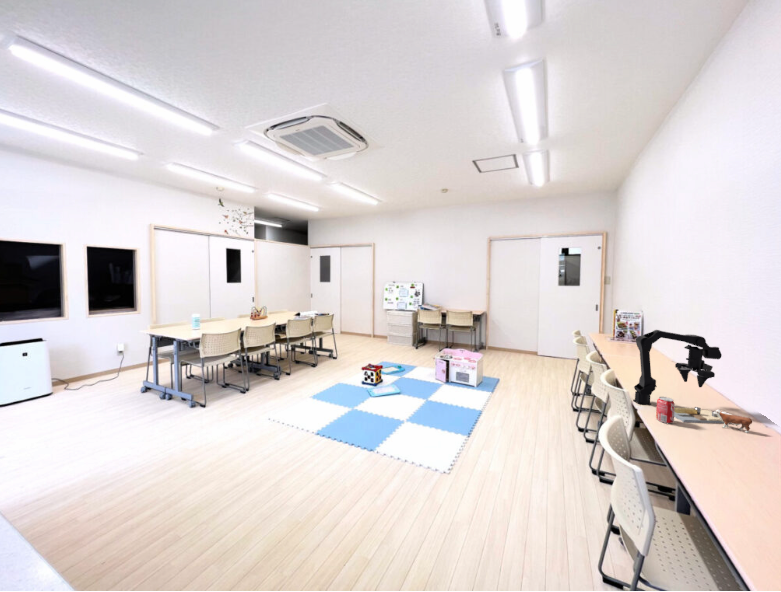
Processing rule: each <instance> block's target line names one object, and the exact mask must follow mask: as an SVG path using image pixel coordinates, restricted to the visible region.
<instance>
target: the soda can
mask: <svg viewBox="0 0 781 592" xmlns="http://www.w3.org/2000/svg"><path fill="white" fill-rule="evenodd" d="M675 405H676V403H675V402H674V399H672V397H671V398H670V397H667V396H659V397H658V399H657V401H656V409H655V410H656V411H655V412H656V413H655V418H656V420H658V421H659V422H660V423H663V424H667V423H668V424H672V423H674V420H675V417H674V411H675V408H676V407H675Z"/></svg>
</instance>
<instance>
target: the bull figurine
mask: <svg viewBox="0 0 781 592" xmlns="http://www.w3.org/2000/svg"><path fill="white" fill-rule="evenodd" d="M714 411H715V412H713V414H716V415H717V416H718V417H719V418H720V420H721V421H722V422H724V423H723V426H721V428H722V429H725V428H729V426H730V425H729V424H728V423H731V424H732V425H735V426H736V427H738V426H739V425H741V426H740V427H738V428H737V430H738V431H743V429H745V430H744V433H745V434H749V433H750V429H751V428H750V425H752V424H753V419H751V418H750V417H745V416H740V415H734V414H732V413H728V412H726V411H723V410H720V409H716V410H714Z"/></svg>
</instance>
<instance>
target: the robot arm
mask: <svg viewBox="0 0 781 592" xmlns="http://www.w3.org/2000/svg"><path fill="white" fill-rule="evenodd" d="M661 338H662V339H667V340H674V341H678V342H684V343H686V344H688V345H686V346H684V347H683V348H684V349H686V350H688V356H687V357H685V360H686V361H687V363H685V362H676V363H675V365H674V367H675V368H676V370H677V371H678V372H679V374H680V376H681V377H682V380H683V382H684V383H687V382H688V378H689V373H690V372H691V371H692V372H695V373H697V375H696V378H697V379H696V380H697V385H698V388H702V387H703V385H705V383H706V381H707V380H708V379H712V378H715V375H716V373H715V372H714V371H712V369H713V367H714V366H713V365H710V364H707V363H705V360H704V359H708V360H709V359H710V360H711V359H712V360H720V359H721V358H722V357H723V356H722V353H721V350H720V347H719V346H710V345H709V344H708V343H707V341H706V338H705V337H704V336H701V335H697V334H680V333H675V332H668V331H663V330H660V329H654V330H652V331H651V332H647V333H645V334H643V335H639V336H637V337H636V338H635V344H636V346H637V349H638V350H639V358H640V359H639V360H640V372H641V374H640V377H639V379H638V380H639V381H638V383H637V384H635V385H634V386H633V387H634V391H635V393H634V399H632V401H633V402H635V403H636V404H639V405H640V406H641V405H647V406H648V405H649V406H651V405H652V403H651V395H652V393H653V392H654V391H656V388H657V379H655V378H653V377H652V369H651V355H650V354H651V353H650V352H651V350H652V347H653V344H654V343H656V342H657V341H658V340H660V339H661ZM703 358H704V359H703Z"/></svg>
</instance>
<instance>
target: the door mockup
mask: <svg viewBox="0 0 781 592" xmlns="http://www.w3.org/2000/svg"><path fill="white" fill-rule="evenodd" d="M715 411H716V410H714V411H712V410H711V409H701V412H700V414H685V413H676V412H674V419H677V420H679V421H681V422H683V423H697V424H698V423H700V424H701V423H702V424H703V423H704V424H724V422H722V421H721V420H720V418H719V417H718V416H717V415H716V414H713V412H715ZM730 424H732V423H728V425H730Z"/></svg>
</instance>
